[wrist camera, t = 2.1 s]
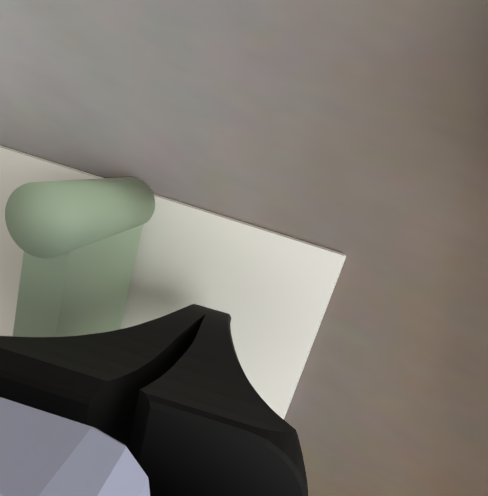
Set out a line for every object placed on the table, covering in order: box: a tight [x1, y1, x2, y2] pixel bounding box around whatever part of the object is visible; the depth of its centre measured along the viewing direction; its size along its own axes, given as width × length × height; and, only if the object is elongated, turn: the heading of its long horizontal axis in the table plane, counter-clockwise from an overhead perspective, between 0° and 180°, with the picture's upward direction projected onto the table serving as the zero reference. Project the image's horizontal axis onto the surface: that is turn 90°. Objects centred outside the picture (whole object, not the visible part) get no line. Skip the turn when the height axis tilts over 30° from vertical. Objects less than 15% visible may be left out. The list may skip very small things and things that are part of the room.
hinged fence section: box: [5, 177, 155, 337], centre depth 12 cm, size 13×2×5 cm, turn 164°
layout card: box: [0, 145, 346, 420], centre depth 16 cm, size 22×20×1 cm
